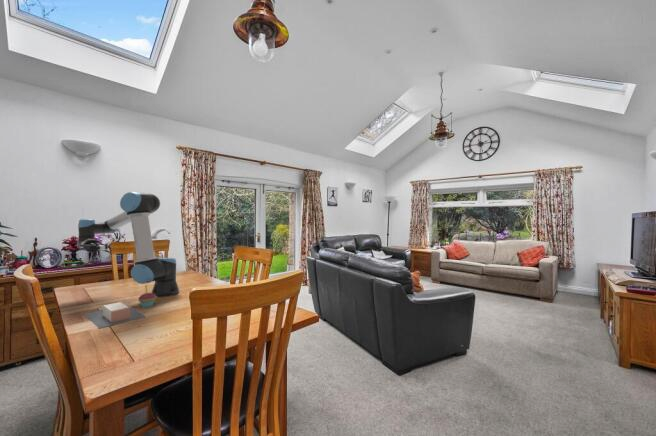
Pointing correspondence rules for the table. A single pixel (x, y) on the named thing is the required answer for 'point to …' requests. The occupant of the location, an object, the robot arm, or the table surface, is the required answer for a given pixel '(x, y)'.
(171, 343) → the table surface
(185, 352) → the table surface
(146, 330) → the table surface
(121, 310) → the tall block
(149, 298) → the cupcake
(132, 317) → the mat
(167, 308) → the table surface
